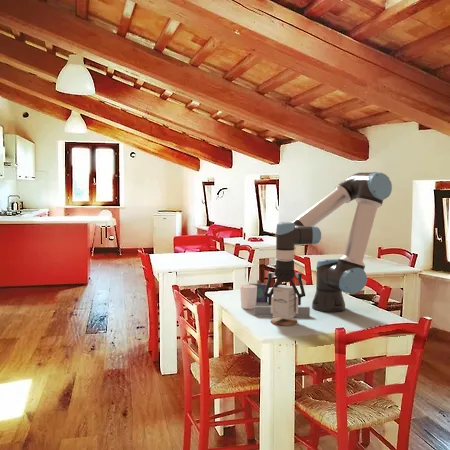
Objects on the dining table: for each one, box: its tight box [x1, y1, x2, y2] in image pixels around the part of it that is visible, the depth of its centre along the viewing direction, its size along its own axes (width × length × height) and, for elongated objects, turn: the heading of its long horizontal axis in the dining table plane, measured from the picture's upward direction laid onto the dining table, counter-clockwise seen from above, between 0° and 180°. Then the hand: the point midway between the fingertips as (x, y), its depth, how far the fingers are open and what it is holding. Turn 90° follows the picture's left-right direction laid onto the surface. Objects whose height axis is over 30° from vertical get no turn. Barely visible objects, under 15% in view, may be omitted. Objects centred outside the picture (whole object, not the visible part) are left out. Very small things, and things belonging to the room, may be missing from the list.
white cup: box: [239, 284, 257, 310], centre depth 232 cm, size 8×8×10 cm
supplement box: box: [272, 284, 297, 319], centre depth 207 cm, size 7×7×13 cm
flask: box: [248, 279, 268, 304], centre depth 243 cm, size 9×3×11 cm, turn 79°
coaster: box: [270, 317, 298, 327], centre depth 208 cm, size 11×11×1 cm
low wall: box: [253, 305, 311, 318], centre depth 218 cm, size 24×2×4 cm, turn 88°
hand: (284, 312), depth 208 cm, fingers closed on supplement box, 10 cm apart
